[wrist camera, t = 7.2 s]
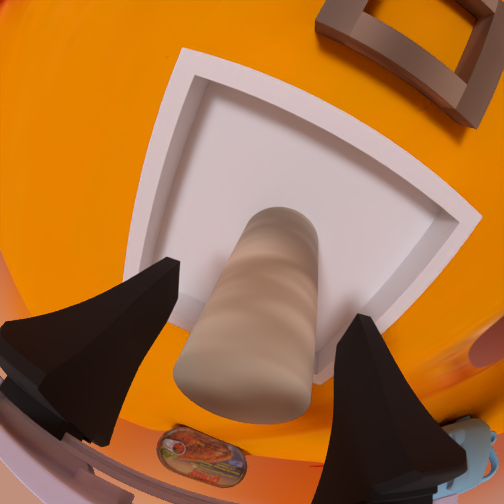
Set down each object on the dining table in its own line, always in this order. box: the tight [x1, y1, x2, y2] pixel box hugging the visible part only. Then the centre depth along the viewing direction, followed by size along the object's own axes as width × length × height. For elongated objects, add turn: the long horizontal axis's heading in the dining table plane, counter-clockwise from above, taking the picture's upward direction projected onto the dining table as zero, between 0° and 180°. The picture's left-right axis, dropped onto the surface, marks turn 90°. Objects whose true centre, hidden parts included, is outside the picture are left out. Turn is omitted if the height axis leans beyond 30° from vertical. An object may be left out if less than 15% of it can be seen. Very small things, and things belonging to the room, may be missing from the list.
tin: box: [157, 427, 247, 488], centre depth 33 cm, size 15×3×8 cm, turn 56°
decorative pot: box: [433, 416, 499, 500], centre depth 21 cm, size 16×16×14 cm
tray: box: [123, 48, 482, 385], centre depth 14 cm, size 15×15×3 cm
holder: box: [315, 0, 504, 129], centre depth 7 cm, size 8×8×2 cm
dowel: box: [173, 207, 318, 424], centre depth 11 cm, size 4×4×9 cm
